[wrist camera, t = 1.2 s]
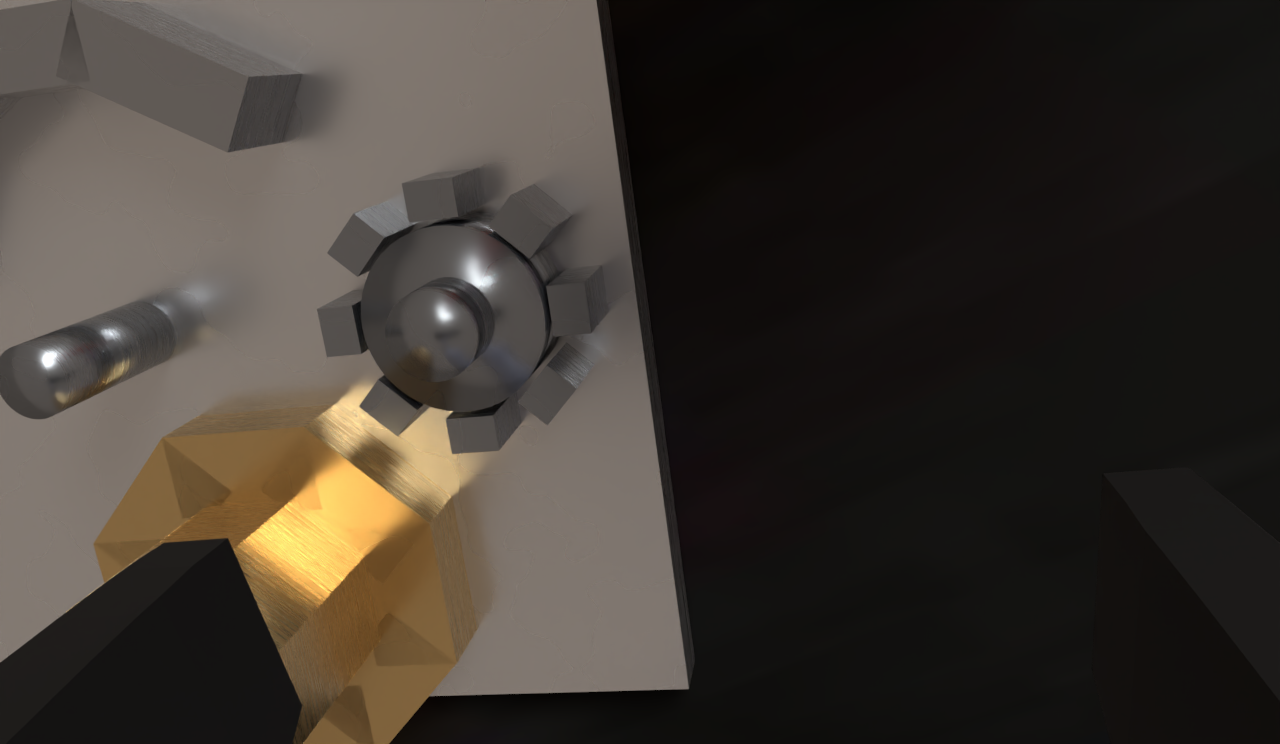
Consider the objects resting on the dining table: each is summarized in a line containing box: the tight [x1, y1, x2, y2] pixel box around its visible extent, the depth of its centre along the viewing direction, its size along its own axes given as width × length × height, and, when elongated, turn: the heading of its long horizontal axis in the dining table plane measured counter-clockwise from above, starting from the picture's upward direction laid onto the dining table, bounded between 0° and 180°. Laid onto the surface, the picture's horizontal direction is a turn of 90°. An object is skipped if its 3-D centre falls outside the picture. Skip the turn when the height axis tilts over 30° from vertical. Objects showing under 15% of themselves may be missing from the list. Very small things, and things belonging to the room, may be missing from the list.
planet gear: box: [66, 405, 477, 744], centre depth 18 cm, size 6×6×5 cm
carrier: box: [0, 0, 695, 696], centre depth 19 cm, size 15×15×4 cm
